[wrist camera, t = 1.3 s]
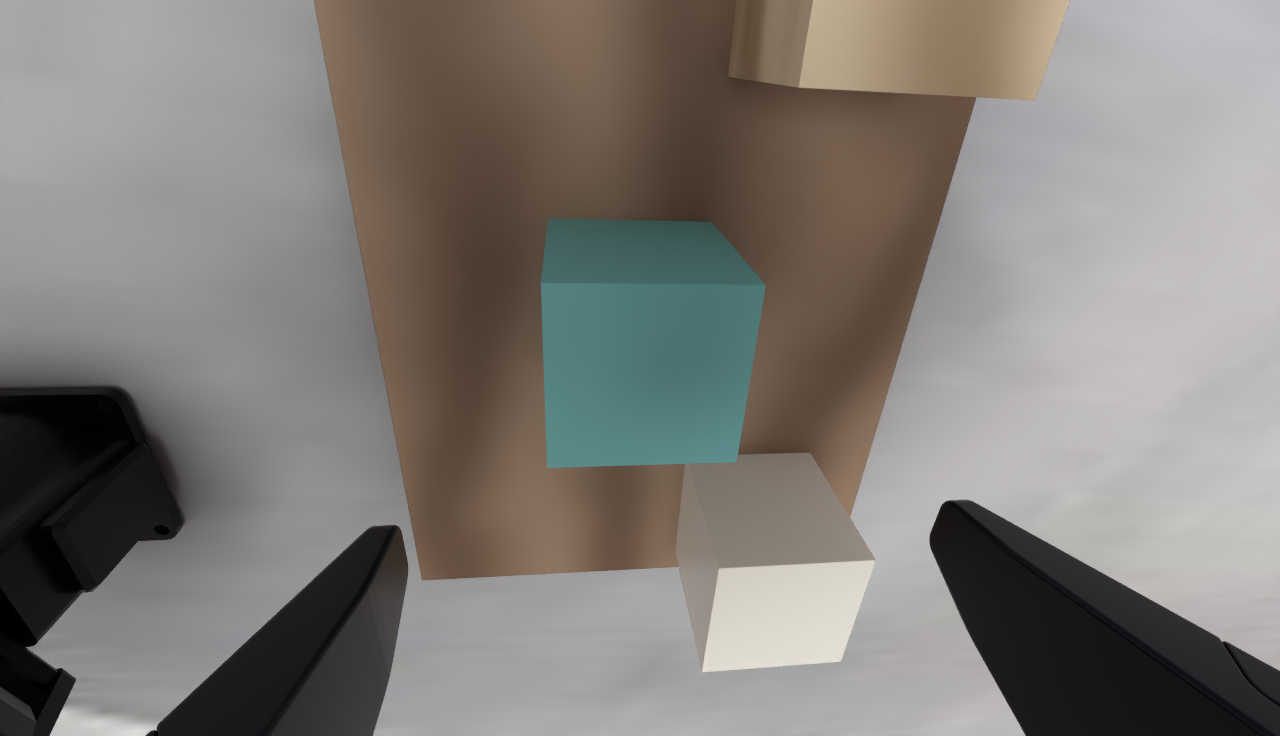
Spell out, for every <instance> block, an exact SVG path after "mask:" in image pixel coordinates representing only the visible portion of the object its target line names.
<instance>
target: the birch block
mask: <svg viewBox="0 0 1280 736" xmlns="http://www.w3.org/2000/svg"><path fill="white" fill-rule="evenodd" d="M1069 1H1070V0H736V9H735V18H734V27H733V36H732V45H731V54H730V63H729V72H728V77H732V78H739V79H745V80H752V81H758V82H765V83H772V84H778V85H785V86H791V87H798V88H816V89H835V90H853V91H872V92H891V93H909V94H928V95H947V96H965V97H984V98H1002V99H1021V100H1035V99H1036V96H1037V93H1038V91H1039V88H1040V85H1041V82H1042V79H1043V76H1044V73H1045V70H1046V68H1047V65H1048V62H1049V59H1050V56H1051V53H1052V50H1053V47H1054V44H1055V42H1056V39H1057V36H1058V33H1059V30H1060V27H1061V24H1062V21H1063V18H1064V16H1065V13H1066V10H1067V7H1068V4H1069Z"/></svg>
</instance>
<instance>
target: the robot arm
mask: <svg viewBox="0 0 1280 736" xmlns="http://www.w3.org/2000/svg"><path fill="white" fill-rule="evenodd" d="M104 401H106V402H108V403H109V404H111V406H112V407H111V406H109V405H107V404H106V403H105V402H104ZM165 526H166V527H165ZM182 526H183V523H182V520H181V518H180V516H179V513H178V511H177V509H176V507H175V504H174V502H173V500H172V497H171V495H170V493H169V491H168V488H167V486H166V484H165V482H164V479H163V477H162V475H161V473H160V470H159V468H158V466H157V464H156V461H155V459H154V457H153V455H152V452H151V450H150V448H149V446H148V443H147V441H146V439H145V437H144V434H143V432H142V430H141V427H140V425H139V423H138V421H137V418H136V416H135V414H134V412H133V409H132V407H131V405H130V403H129V400H128V399H127V398H126V396H125V395H124V394H122V393H121V392H119V391H117V390H115V389H110V388H69V389H0V736H49V735H50V733H51V731H52V729H53V727H54V725H55V723H56V721H57V719H58V717H59V715H60V712H61V710H62V708H63V706H64V704H65V702H66V700H67V698H68V696H69V694H70V692H71V690H72V687H73V685H74V683H75V681H76V678H75V677H73V676H72V675H70V674H69V673H68V672H66V671H65V670H63V669H62V668H59V669H55V668H54V667H52V666H51V665H50V664H48V663H47V662H45V661H44V660H43V659H41V658H40V657H38V656H37V655H36V654H34V653H33V652H31V651H30V650H29V649H27V648H26V647H30V646H34V645H36V643H37V642H38V641H39V640H40V639H41V638H42V637H43V636H44V635H45V633H46V632H47V631H48V630H49V629H50V628H51V627H52V626H53V625H54V623H55V622H56V621H57V620H58V619H59V618H60V617H61V616H62V614H63V613H64V612H65V611H66V610H67V609H68V608H69V607H70V606H71V604H72V603H73V602H74V601H75V600H76V599H77V598H78V597H79V596H80V594H81V593H82V592H92V591H93V590H95V589H96V588H97V587H98V586H99V585H100V584H101V582H102V581H103V580H104V579H105V578H106V577H107V576H108V575H109V573H110V572H111V571H112V570H113V569H114V568H115V567H116V565H117V564H118V563H119V562H120V561H121V560H122V559H123V557H124V556H125V555H126V554H127V553H128V552H129V551H130V549H131V548H132V547H133V546H134V545H135V544H136V543H137V541H148V540H168V539H172V538H173V537H175V536H176V535H177V533H178V532H179V531H180V530H181V528H182ZM929 540H930V547H931V550H932V553H933V555H934V557H935V559H936V562H937V564H938V566H939V569H940V571H941V573H942V575H943V578H944V580H945V582H946V584H947V587H948V589H949V591H950V593H951V596H952V598H953V600H954V602H955V605H956V607H957V609H958V611H959V614H960V616H961V618H962V620H963V622H964V624H965V626H966V629H967V631H968V633H969V635H970V637H971V638H972V640H973V642H974V644H975V646H976V648H977V650H978V651H979V653H980V655H981V657H982V658H983V660H984V662H985V664H986V666H987V667H988V669H989V671H990V673H991V675H992V676H993V678H994V680H995V682H996V683H997V685H998V687H999V689H1000V691H1001V692H1002V694H1003V696H1004V698H1005V699H1006V701H1007V703H1008V705H1009V707H1010V708H1011V710H1012V712H1013V714H1014V716H1015V717H1016V719H1017V721H1018V723H1019V724H1020V726H1021V728H1022V730H1023V732H1024V733H1025V735H1026V736H1280V671H1279V670H1277V669H1275V668H1273V667H1272V666H1270V665H1268V664H1266V663H1264V662H1262V661H1260V660H1259V659H1257V658H1255V657H1253V656H1251V655H1250V654H1248V653H1246V652H1244V651H1242V650H1241V649H1239V648H1237V647H1235V646H1233V645H1232V644H1230V643H1228V642H1225V641H1223V642H1222V641H1221V640H1220V638H1219V637H1217V636H1215V635H1213V634H1212V633H1210V632H1208V631H1206V630H1204V629H1203V628H1201V627H1199V626H1197V625H1195V624H1193V623H1192V622H1190V621H1188V620H1186V619H1184V618H1183V617H1181V616H1179V615H1177V614H1175V613H1174V612H1172V611H1170V610H1168V609H1166V608H1165V607H1163V606H1161V605H1159V604H1157V603H1155V602H1154V601H1152V600H1150V599H1148V598H1146V597H1145V596H1143V595H1141V594H1139V593H1137V592H1136V591H1134V590H1132V589H1130V588H1128V587H1127V586H1125V585H1123V584H1121V583H1119V582H1117V581H1116V580H1114V579H1112V578H1110V577H1108V576H1107V575H1105V574H1103V573H1101V572H1099V571H1098V570H1096V569H1094V568H1092V567H1090V566H1089V565H1087V564H1085V563H1083V562H1081V561H1079V560H1078V559H1076V558H1074V557H1072V556H1070V555H1069V554H1067V553H1065V552H1063V551H1061V550H1060V549H1058V548H1056V547H1054V546H1052V545H1051V544H1049V543H1047V542H1045V541H1043V540H1042V539H1040V538H1038V537H1036V536H1034V535H1032V534H1031V533H1029V532H1027V531H1025V530H1023V529H1022V528H1020V527H1018V526H1016V525H1014V524H1013V523H1011V522H1009V521H1007V520H1005V519H1004V518H1002V517H1000V516H998V515H996V514H995V513H993V512H991V511H989V510H987V509H985V508H984V507H982V506H980V505H978V504H976V503H975V502H973V501H970V500H950V501H946V502H945V503H944V504H942V506H941V508H940V510H939V513H938V515H937V518H936V521H935V523H934V526H933V528H932V531H931V533H930V539H929ZM407 578H408V561H407V556H406V551H405V547H404V542H403V537H402V532H401V530H400V528H399V527H398V526H396V525H386V526H373V527H370V528H368V529H367V530H366V531H365V532H364V533H363V534H362V535H360V536H359V537H358V538H357V539H356V540H355V541H354V542H353V543H352V544H351V545H350V546H349V547H348V548H347V549H345V550H344V551H343V552H342V553H341V554H340V555H339V556H338V557H337V558H336V559H335V560H334V561H333V562H331V563H330V564H329V565H328V566H327V567H326V568H325V569H324V570H323V571H322V572H321V573H320V574H319V575H318V576H316V577H315V578H314V579H313V580H312V581H311V582H310V583H309V584H308V585H307V586H306V587H305V588H304V589H303V590H301V591H300V592H299V593H298V594H297V595H296V596H295V597H294V598H293V599H292V600H291V601H290V602H289V603H288V604H286V605H285V606H284V607H283V608H282V609H281V610H280V611H279V612H278V613H277V614H276V615H275V616H274V617H273V618H271V619H270V620H269V621H268V622H267V623H266V624H265V625H264V626H263V627H262V628H261V629H260V630H259V631H258V632H256V633H255V634H254V635H253V636H252V637H251V638H250V639H249V640H248V641H247V642H246V643H245V644H244V645H243V646H241V647H240V648H239V649H238V650H237V651H236V652H235V653H234V654H233V655H232V656H231V657H230V658H229V659H228V660H226V661H225V662H224V663H223V664H222V665H221V666H220V667H219V668H218V669H217V670H216V671H215V672H214V673H213V674H211V675H210V676H209V677H208V678H207V679H206V680H205V681H204V682H203V683H202V684H201V685H200V686H199V687H198V688H196V689H195V690H194V691H193V692H192V693H191V694H190V695H189V696H188V697H187V698H186V699H185V700H184V701H183V702H181V703H180V704H179V705H178V706H177V707H176V708H175V709H174V710H173V711H172V712H171V713H170V714H169V715H168V716H166V717H165V718H164V719H163V720H162V721H161V722H160V723H159V724H158V726H157V731H156V730H152V731H150V732H149V733H148V734H147V735H146V736H373V733H374V730H375V726H376V723H377V719H378V716H379V713H380V709H381V706H382V703H383V699H384V696H385V692H386V689H387V685H388V681H389V677H390V672H391V667H392V662H393V657H394V651H395V646H396V640H397V635H398V629H399V623H400V618H401V612H402V607H403V601H404V595H405V590H406V584H407Z"/></svg>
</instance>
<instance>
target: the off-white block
mask: <svg viewBox="0 0 1280 736" xmlns="http://www.w3.org/2000/svg"><path fill="white" fill-rule="evenodd" d="M675 552H676V556H677V561H678V565H679V570H680V574H681V579H682V584H683V588H684V593H685V597H686V602H687V606H688V611H689V616H690V620H691V625H692V629H693V634H694V638H695V643H696V647H697V652H698V657H699V661H700V666H701V670H702V672H711V671H724V670H737V669H750V668H763V667H776V666H790V665H803V664H816V663H829V662H841V659H842V656H843V653H844V650H845V647H846V645H847V642H848V639H849V636H850V633H851V630H852V627H853V624H854V621H855V619H856V616H857V613H858V610H859V607H860V604H861V601H862V598H863V595H864V593H865V590H866V587H867V584H868V581H869V578H870V575H871V572H872V570H873V567H874V564H875V561H876V560H875V558H874V556H873V555H872V553H871V552H870V550H869V548H868V547H867V545H866V543H865V542H864V540H863V538H862V537H861V535H860V533H859V532H858V530H857V529H856V527H855V525H854V524H853V522H852V520H851V519H850V517H849V515H848V514H847V512H846V511H845V509H844V507H843V506H842V504H841V502H840V501H839V499H838V497H837V496H836V494H835V492H834V491H833V489H832V488H831V486H830V484H829V483H828V481H827V479H826V478H825V476H824V474H823V473H822V471H821V470H820V468H819V466H818V465H817V463H816V461H815V460H814V458H813V456H812V455H811V453H775V454H740V455H738V457H737V462H728V463H695V464H685V467H684V476H683V485H682V494H681V503H680V512H679V521H678V530H677V539H676V548H675Z"/></svg>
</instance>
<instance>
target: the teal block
mask: <svg viewBox="0 0 1280 736" xmlns="http://www.w3.org/2000/svg"><path fill="white" fill-rule="evenodd" d="M765 288H766V284H765V283H764V282H763V281H762V280H761V279H760V278H759V276H758V275H757V274H756V273H755V272H754V271H753V269H752V268H751V267H750V266H749V265H748V264H747V262H746V261H745V260H744V259H743V258H742V257H741V255H740V254H739V253H738V252H737V251H736V250H735V248H734V247H733V246H732V245H731V244H730V243H729V241H728V240H727V239H726V238H725V237H724V236H723V234H722V233H721V232H720V231H719V230H718V229H717V227H716V226H715V225H714V224H713V223H712V222H691V221H647V220H604V219H560V218H548V223H547V232H546V241H545V250H544V259H543V268H542V277H541V302H542V332H543V362H544V392H545V422H546V452H547V468H563V467H596V466H629V465H662V464H695V463H728V462H737V457H738V451H739V445H740V439H741V433H742V427H743V421H744V415H745V409H746V403H747V396H748V390H749V384H750V378H751V372H752V366H753V360H754V354H755V348H756V342H757V336H758V330H759V324H760V318H761V312H762V306H763V300H764V294H765Z"/></svg>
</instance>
